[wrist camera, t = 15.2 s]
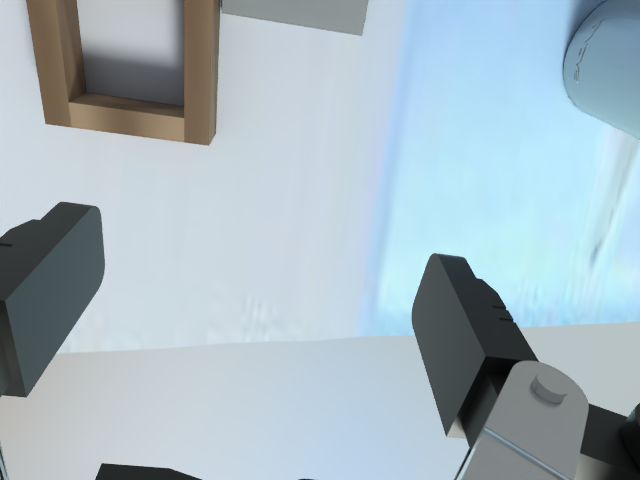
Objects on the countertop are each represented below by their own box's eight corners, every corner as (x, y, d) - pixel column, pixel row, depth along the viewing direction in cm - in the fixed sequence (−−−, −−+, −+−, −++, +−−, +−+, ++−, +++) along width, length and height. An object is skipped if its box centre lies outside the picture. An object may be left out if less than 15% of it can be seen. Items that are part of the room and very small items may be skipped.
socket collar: (221, -34, 30) (213, -35, 28) (215, 133, 36) (208, 145, 34) (41, -65, 29) (15, -69, 27) (64, 112, 35) (45, 123, 32)
